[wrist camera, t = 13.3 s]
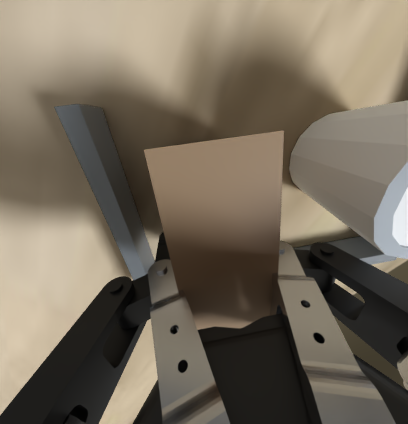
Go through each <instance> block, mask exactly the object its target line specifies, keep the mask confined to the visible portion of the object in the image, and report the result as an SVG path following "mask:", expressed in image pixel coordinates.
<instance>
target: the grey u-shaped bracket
mask: <svg viewBox="0 0 408 424" xmlns="http://www.w3.org/2000/svg"><path fill="white" fill-rule="evenodd" d="M54 108H55V110H56V112H57V114H58V116H59V119H60V121H61V123H62V125H63V127H64V130H65V132H66V134H67V136H68V138H69V140H70V143H71V145H72V147H73V149H74V151H75V154H76V156H77V158H78V160H79V162H80V164H81V167H82V169H83V171H84V173H85V175H86V178H87V180H88V182H89V184H90V186H91V188H92V191H93V193H94V195H95V197H96V199H97V201H98V204H99V206H100V208H101V210H102V212H103V215H104V217H105V219H106V221H107V223H108V225H109V228H110V230H111V232H112V234H113V236H114V239H115V241H116V243H117V245H118V247H119V249H120V252H121V254H122V256H123V258H124V260H125V263H126V265H127V267H128V269H129V271H130V273H131V276H132V278H133V280H135V279H138V278H140V277H142V276H144V275H146V274H147V273H148V270H149V268H150V266H151V265H152V264H154V263H155V261H154V258H153V255H152V252H151V249H150V246H149V243H148V241H147V238H146V235H145V232H144V229H143V226H142V223H141V220H140V217H139V214H138V211H137V209H136V206H135V203H134V200H133V197H132V194H131V191H130V188H129V185H128V182H127V180H126V177H125V174H124V171H123V168H122V165H121V162H120V159H119V156H118V153H117V150H116V148H115V145H114V142H113V139H112V136H111V133H110V130H109V127H108V124H107V121H106V119H105V116H104V113H103V110H102V108H101V107H95V106H88V105H82V104H73V105H65V106H57V107H54ZM326 243H328V244H331V245H333V246H336V247H337V248H339V249H341V250H343V251H345V252H347V253H349V254H351V255H353V256H355V257H356V258H358V259H360V260H362V261H364V262H366V263H368V264H370V265H371V264H376V263H382V262H387V261H393V260H396V258H397V257H394V256H388V255H385V254H384V253H382V252H381V251H380V250H378V249H377V248H376V247H375V246H373V245H372V244H371V243H369V242H368V241H367V240H365V239H364V238H363V237H362V236H360V237H354V238H349V239H343V240H337V241H332V242H326ZM310 247H311V245H309V246H303V247H298V248H293V249H299V250H310Z"/></svg>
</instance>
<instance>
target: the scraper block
mask: <svg viewBox="0 0 408 424" xmlns="http://www.w3.org/2000/svg"><path fill="white" fill-rule="evenodd" d="M283 144H284V130H283V131H276V132H269V133H261V134H254V135H247V136H239V137H232V138H225V139H218V140H210V141H203V142H196V143H188V144H181V145H174V146H167V147H159V148H152V149H145V150H144V153H145V157H146V161H147V165H148V170H149V174H150V178H151V182H152V186H153V190H154V194H155V198H156V202H157V207H158V211H159V215H160V219H161V223H162V227H163V231H164V235H165V240H166V244H167V248H168V252H169V256H170V260H171V264H172V268H173V272H174V277H175V281H176V285H177V289H178V291H179V290H183V291H184V293H185V295H186V298H187V301H188V304H189V307H190V310H191V313H192V315H193V318H194V321H195V324H196V327H197V330H199V329H204V328H209V327H215V326H217V327H228V328H243V327H245V326H247V325H249V324H251V323H253V322H254V321H256V320H258V319H260V318H262V317H265V316H269V315H270V308H271V301H272V293H273V290H272V273H278V270H279V245H280V220H281V194H282V169H283Z"/></svg>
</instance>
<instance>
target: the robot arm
mask: <svg viewBox="0 0 408 424" xmlns="http://www.w3.org/2000/svg"><path fill="white" fill-rule="evenodd" d="M335 279H338V280H339V281H341V282H342V283H344V284H345V285H347V286H348V287H350V288H351V289H353V290H354V291H356V292H357V293H359V294H360V295H361V296H362V297H363V299H364V301H365V303H363V302H361V301H360V300H359V299H357V298H356V297H354V296H353V295H351V294H350V293H349V292H347V291H346V290H344V289H343V288H341V287H340V286H338V285H337V284H336V283H334V282H335ZM272 290H273V293H272V301H271V308H270V315H269V316H265V317H262V318H260V319H258V320H256V321H254V322H253V323H251V324H249V325H247V326H245V327H243V328H228V327H217V326H215V327H209V328H204V329H199V330H197V327H196V324H195V321H194V318H193V315H192V313H191V310H190V307H189V304H188V301H187V298H186V295H185V293H184V291H183V290H179V291H178V289H177V285H176V281H175V277H174V272H173V268H172V264H171V260H170V256H169V252H168V248H167V244H166V240H165V235H164V231H163V232H162V234H161V235H160V237H159V242H158V248H157V254H156V260H155V263H154V264H152V265H151V266H150V268H149V270H148V273H147V274H146V275H144V276H142V277H140V278H138V279H135V280H133V281H131V279H130V278H129V277H126V276H122V277H118V278H115V279H113V280H111V281H110V282H109V283H107V284H106V285H105V286H104V288H103V289H102V290H101V291H100V293H99V294H98V295H97V296H96V298H95V299H94V300H93V301H92V303H91V304H90V305H89V306H88V307H87V309H86V310H85V311H84V312H83V314H82V315H81V316H80V317H79V319H78V320H77V321H76V322H75V324H74V325H73V326H72V327H71V329H70V330H69V331H68V332H67V333H66V335H65V336H64V337H63V338H62V340H61V341H60V342H59V343H58V345H57V346H56V347H55V348H54V350H53V351H52V352H51V353H50V355H49V356H48V357H47V358H46V360H45V361H44V362H43V363H42V364H41V366H40V367H39V368H38V369H37V371H36V372H35V373H34V374H33V376H32V377H31V378H30V379H29V381H28V382H27V383H26V384H25V386H24V387H23V388H22V389H21V390H20V392H19V393H18V394H17V395H16V397H15V398H14V399H13V400H12V402H11V403H10V404H9V405H8V407H7V408H6V409H5V410H4V412H3V413H2V414H1V415H0V424H99V422H100V419H101V417H102V415H103V413H104V411H105V409H106V407H107V405H108V402H109V400H110V398H111V396H112V394H113V392H114V390H115V388H116V386H117V383H118V381H119V379H120V377H121V375H122V373H123V371H124V369H125V366H126V364H127V362H128V360H129V358H130V356H131V354H132V352H133V349H134V347H135V345H136V343H137V341H138V339H139V337H140V335H141V333H142V330H143V328H144V326H145V324H146V322H147V320H149V319H151V324H152V333H153V341H154V349H155V358H156V366H157V375H158V380H157V382H156V383H155V385H154V387H153V389H152V390H151V392H150V394H149V396H148V397H147V399H146V401H145V403H144V405H143V406H142V408H141V410H140V412H139V413H138V415H137V417H136V419H135V420H134V422H133V424H408V284H406V283H404V282H402V281H400V280H398V279H396V278H394V277H392V276H391V275H389V274H387V273H385V272H383V271H381V270H379V269H377V268H376V267H374V266H372V265H370V264H368V263H366V262H364V261H362V260H360V259H358V258H356V257H355V256H353V255H351V254H349V253H347V252H345V251H343V250H341V249H339V248H337V247H336V246H333V245H331V244H328V243H320V242H319V243H314V244H312V245H311V247H310V250H299V249H293V247H292V246H291V245H290V244H288V243H286V242H284V241H280V245H279V270H278V273H272ZM333 315H334V316H335V317H336V318H337V319H338V320H340V321H341V322H342V323H343V324H344V325H346V326H347V327H348V328H349V329H350V330H352V331H353V332H354V333H355V334H357V335H358V336H359V337H360V338H361V339H362V340H364V341H365V342H366V343H367V344H368V345H370V346H371V347H372V348H373V349H374V350H375V351H377V352H378V353H379V354H380V355H381V356H383V357H384V358H385V359H386V360H387V361H388V362H390V363H391V364H392V365H393V366H395V367H396V368H397V369H398V370H399V372H400V374H401V376H402V378H403V379H404V386H405V388H406V389H407V390H406V389H405V388H403V387H402V386H400V385H399V384H397V383H396V382H394V381H393V380H391V379H390V378H389V377H387V376H385V375H384V374H382V373H381V372H380V371H378V370H376V369H375V368H374V367H372V366H370V365H369V364H368V363H366V362H365V361H363V360H362V359H360V358H359V357H357V356H355V355H354V354H352V352H351V350H350V348H349V346H348V344H347V342H346V340H345V338H344V336H343V334H342V332H341V330H340V328H339V326H338V324H337V322H336V320H335V318H334V316H333Z"/></svg>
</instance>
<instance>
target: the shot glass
mask: <svg viewBox="0 0 408 424" xmlns="http://www.w3.org/2000/svg"><path fill="white" fill-rule="evenodd" d="M289 171H290V174H291V178H292V182H293V183H294V184H295V185H296V186H297V187H298V188H299V189H300V190H302V191H303V192H304V193H305V194H307V195H308V196H309V197H311V198H312V199H313V200H315V201H316V202H317V203H319V204H320V205H321V206H322V207H324V208H325V209H326V210H328V211H329V212H330V213H332V214H333V215H334V216H335V217H337V218H338V219H339V220H341V221H342V222H343V223H345V224H346V225H347V226H349V227H350V228H351V229H352V230H354V231H355V232H356V233H358V234H359V235H360V236H362V237H363V238H364V239H365V240H367V241H368V242H369V243H371V244H372V245H373V246H375V247H376V248H377V249H378V250H380V251H381V252H382V253H384V254H385V255H388V256H394V257H399V258H404V259H407V258H408V100H407V101H401V102H395V103H389V104H383V105H378V106H372V107H366V108H360V109H354V110H349V111H343V112H337V113H331V114H328V115H326V116H324V117H322V118H320V119H319V120H317V121H315V122H313V123H312V124H311V125H310V126H309V127H308V128H307V129H306V130H305V132H304V133H303V134H302V135H301V136H300V137H299V139H298V141H297V143H296V145H295V147H294V149H293V151H292V153H291V158H290V165H289Z"/></svg>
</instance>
